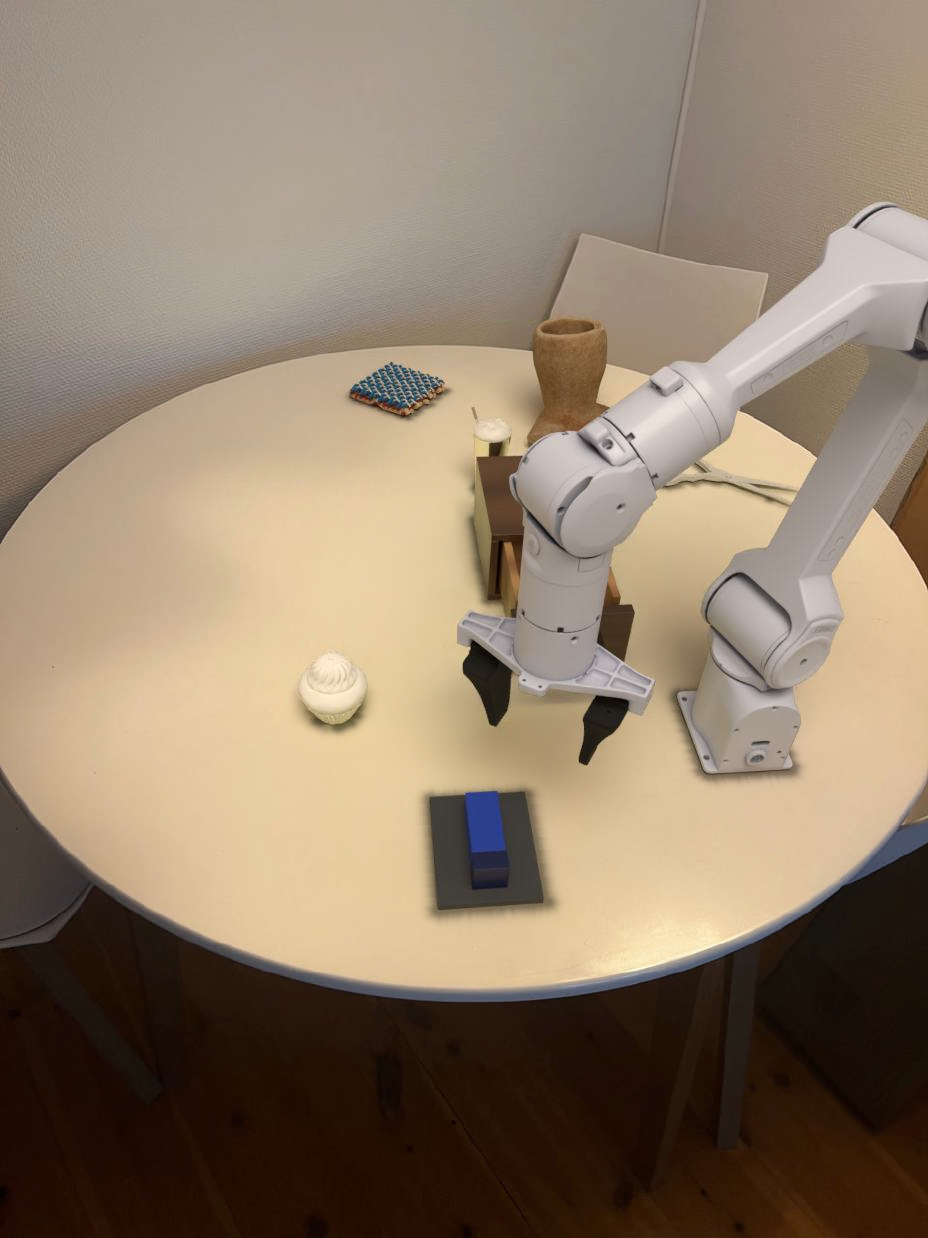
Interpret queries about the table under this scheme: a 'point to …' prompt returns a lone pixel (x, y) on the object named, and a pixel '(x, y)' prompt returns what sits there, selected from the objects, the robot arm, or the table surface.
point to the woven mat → (397, 389)
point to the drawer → (613, 617)
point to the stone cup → (568, 373)
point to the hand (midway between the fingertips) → (542, 736)
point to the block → (486, 841)
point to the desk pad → (456, 861)
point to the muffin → (332, 687)
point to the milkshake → (491, 437)
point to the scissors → (727, 479)
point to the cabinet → (495, 514)
